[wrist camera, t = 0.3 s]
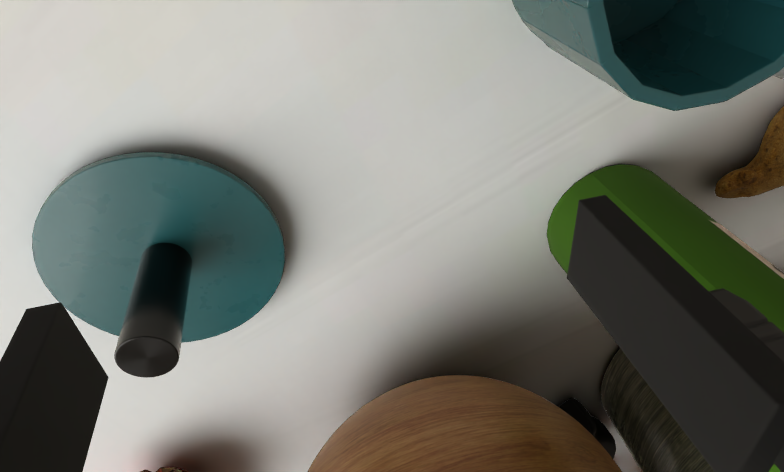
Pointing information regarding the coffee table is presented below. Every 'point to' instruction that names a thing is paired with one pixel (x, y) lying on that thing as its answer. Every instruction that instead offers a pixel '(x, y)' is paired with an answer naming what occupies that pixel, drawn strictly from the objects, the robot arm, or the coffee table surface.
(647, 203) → the wine bottle
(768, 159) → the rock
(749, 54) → the teal short cylinder
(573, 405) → the controller
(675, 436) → the planter
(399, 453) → the bowl
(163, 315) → the lid
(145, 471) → the dragon fruit
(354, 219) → the coffee table surface
